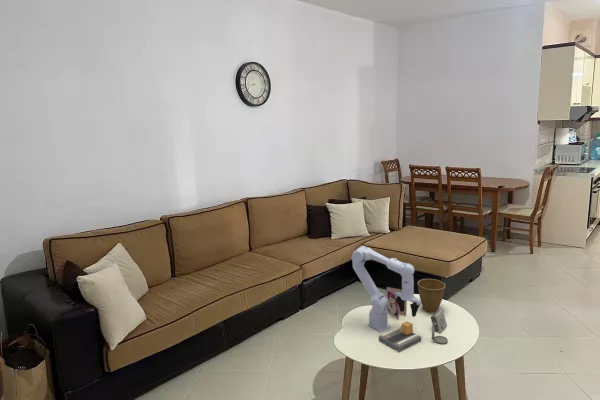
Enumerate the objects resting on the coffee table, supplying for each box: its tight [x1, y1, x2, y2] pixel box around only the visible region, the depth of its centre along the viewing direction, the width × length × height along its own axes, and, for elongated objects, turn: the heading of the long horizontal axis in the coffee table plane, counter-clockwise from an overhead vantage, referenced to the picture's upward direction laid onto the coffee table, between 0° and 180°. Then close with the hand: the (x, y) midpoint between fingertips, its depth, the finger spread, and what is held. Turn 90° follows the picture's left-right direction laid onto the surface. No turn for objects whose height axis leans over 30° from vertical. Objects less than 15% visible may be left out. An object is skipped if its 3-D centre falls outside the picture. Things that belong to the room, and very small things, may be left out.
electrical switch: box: [430, 309, 448, 334], centre depth 223 cm, size 9×5×9 cm, turn 141°
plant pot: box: [417, 278, 446, 314], centre depth 242 cm, size 15×15×16 cm
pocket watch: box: [431, 321, 449, 345], centre depth 211 cm, size 8×8×10 cm
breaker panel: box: [378, 325, 422, 353], centre depth 212 cm, size 13×16×3 cm
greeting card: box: [386, 286, 408, 321], centre depth 238 cm, size 11×7×15 cm, turn 25°
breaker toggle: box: [401, 321, 414, 335], centre depth 214 cm, size 4×4×5 cm
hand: (408, 313), depth 218 cm, fingers open, 7 cm apart
